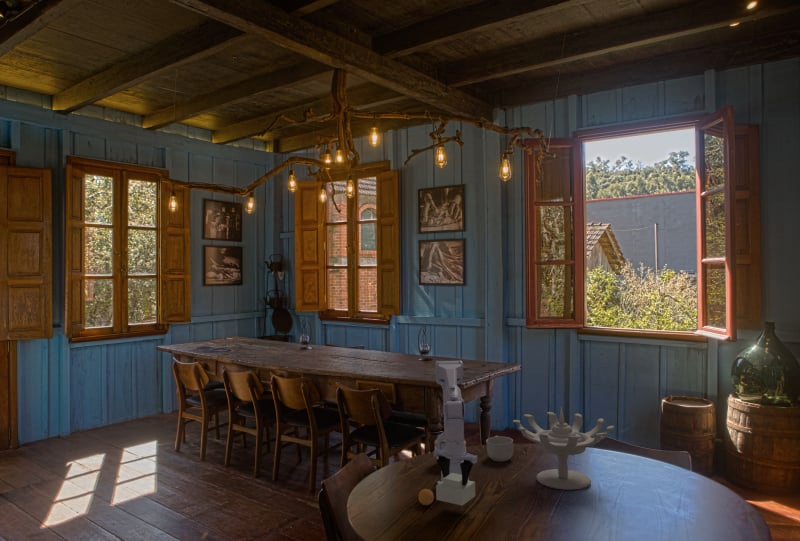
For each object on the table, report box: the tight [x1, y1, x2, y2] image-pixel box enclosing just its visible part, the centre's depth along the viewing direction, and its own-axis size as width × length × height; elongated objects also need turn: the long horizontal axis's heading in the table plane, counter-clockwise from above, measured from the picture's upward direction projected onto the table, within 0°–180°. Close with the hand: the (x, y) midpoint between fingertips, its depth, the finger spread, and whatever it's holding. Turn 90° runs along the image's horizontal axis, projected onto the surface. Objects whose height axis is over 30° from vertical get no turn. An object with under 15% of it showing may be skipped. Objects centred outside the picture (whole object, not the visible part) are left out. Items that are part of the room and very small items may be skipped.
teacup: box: [485, 435, 514, 463], centre depth 225 cm, size 14×11×8 cm
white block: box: [435, 473, 476, 506], centre depth 173 cm, size 9×9×6 cm
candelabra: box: [512, 406, 615, 491], centre depth 197 cm, size 34×35×27 cm
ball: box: [418, 488, 435, 506], centre depth 179 cm, size 5×5×5 cm
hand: (455, 482), depth 173 cm, fingers closed on white block, 6 cm apart
